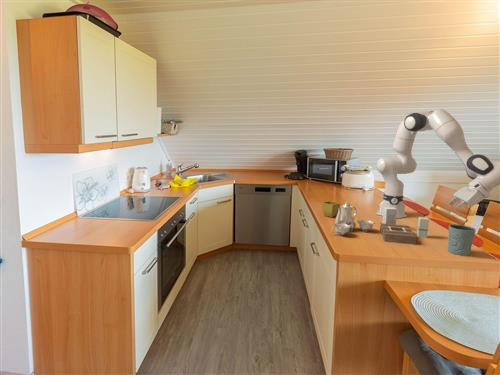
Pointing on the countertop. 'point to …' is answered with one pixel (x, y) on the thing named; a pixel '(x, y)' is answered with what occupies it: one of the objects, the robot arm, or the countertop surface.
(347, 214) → the chinaware
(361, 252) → the countertop surface
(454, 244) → the blue-grey embossed planter
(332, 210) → the flower pot
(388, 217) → the skincare box
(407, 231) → the socket board
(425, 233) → the sage peg
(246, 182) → the countertop surface
